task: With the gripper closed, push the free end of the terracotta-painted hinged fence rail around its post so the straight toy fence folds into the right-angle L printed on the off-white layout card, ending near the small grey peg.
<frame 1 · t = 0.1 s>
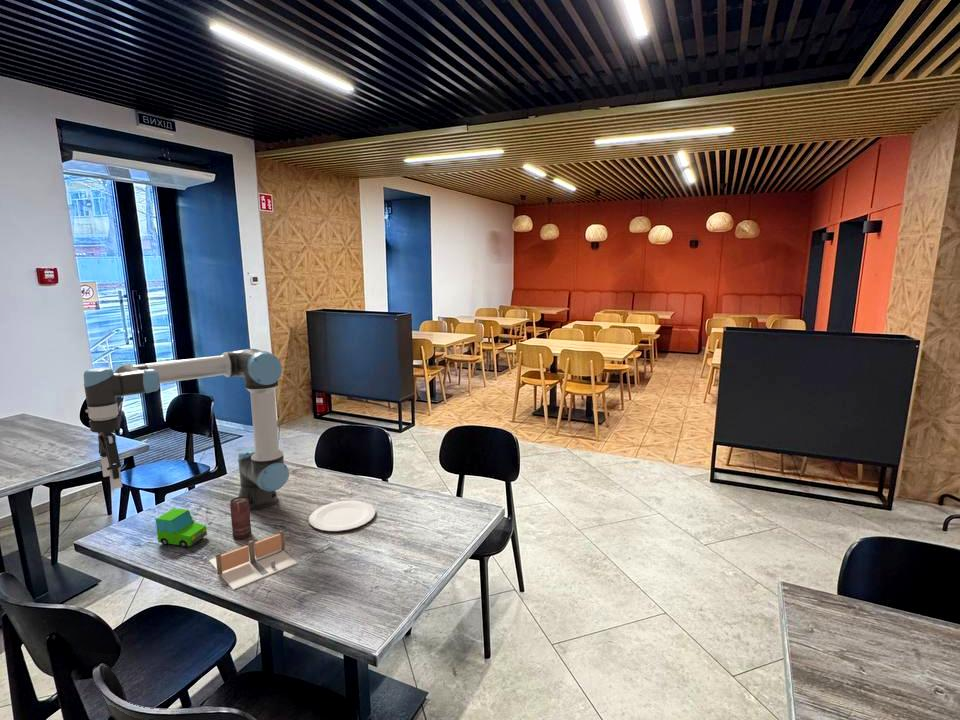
hand: (112, 481, 164), 28 cm above the table, fingers open, 13 cm apart
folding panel: (232, 558, 163), point 4 cm above the table, hinge at 0.0°
toy car: (184, 542, 181), on the table
fixed panel: (252, 561, 168), resting on layout card
can: (242, 536, 185), on the table
plate: (342, 518, 199), on the table
layout card: (252, 562, 168), on the table
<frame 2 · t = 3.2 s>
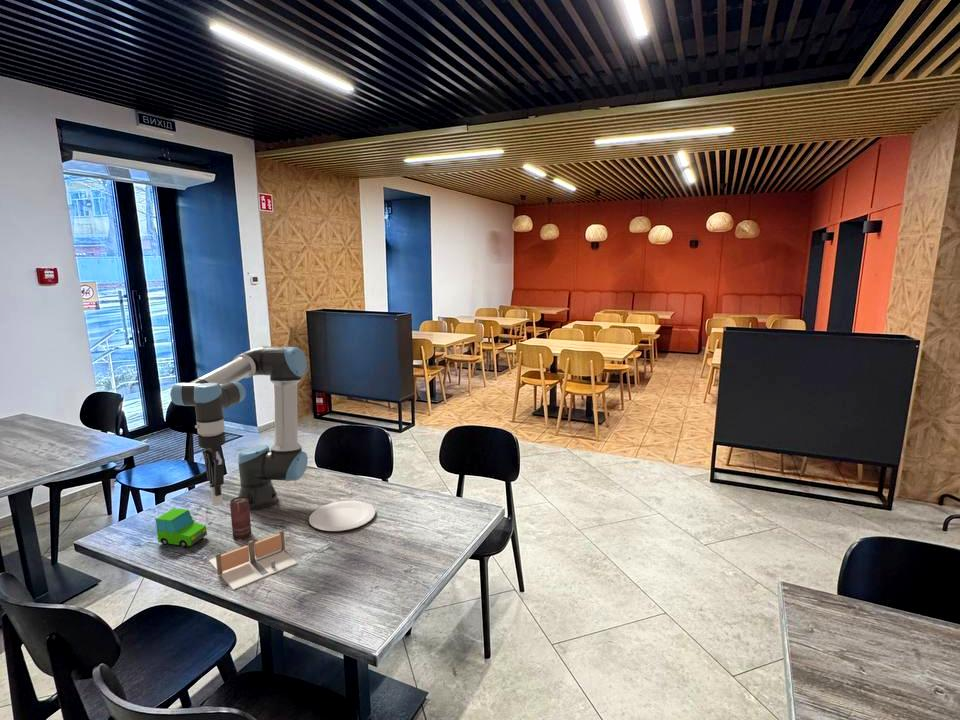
hand: (217, 504, 163), 21 cm above the table, fingers closed
nothing on the table moved.
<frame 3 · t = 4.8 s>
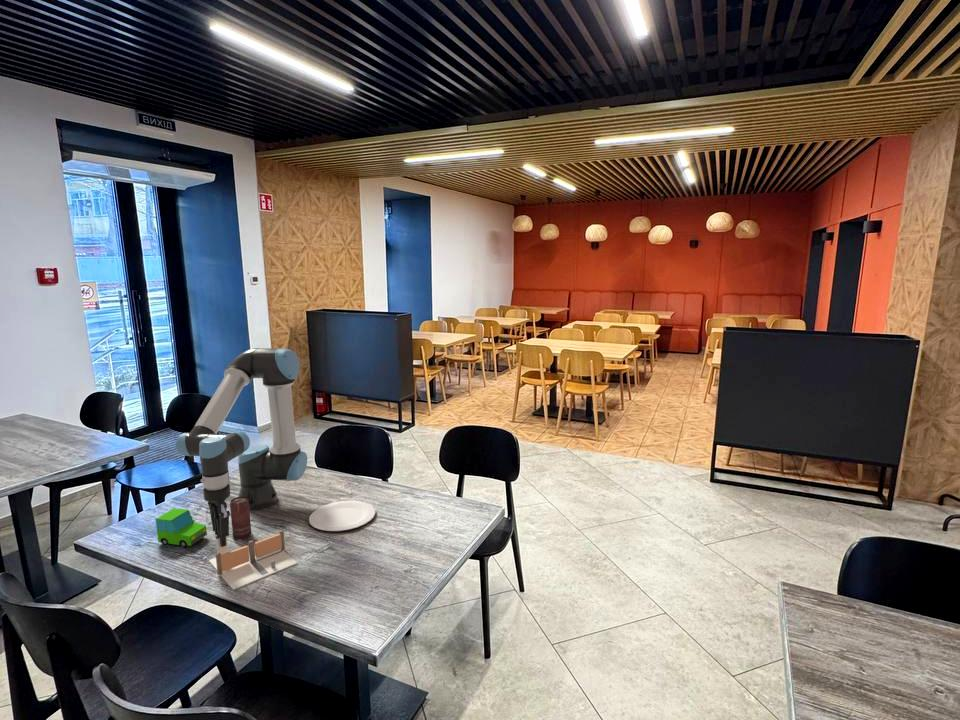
hand: (222, 554, 167), 3 cm above the table, fingers closed
nothing on the table moved.
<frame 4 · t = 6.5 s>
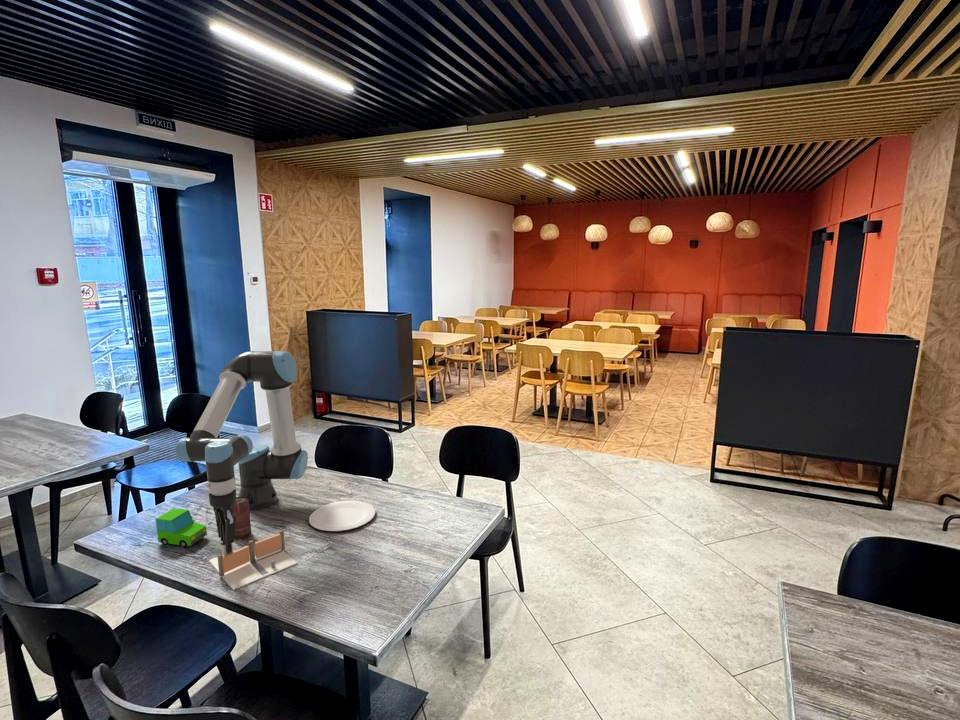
hand: (228, 560, 163), 4 cm above the table, fingers closed
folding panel: (233, 559, 163), point 4 cm above the table, hinge at 7.7°, touching gripper
everything else where it was.
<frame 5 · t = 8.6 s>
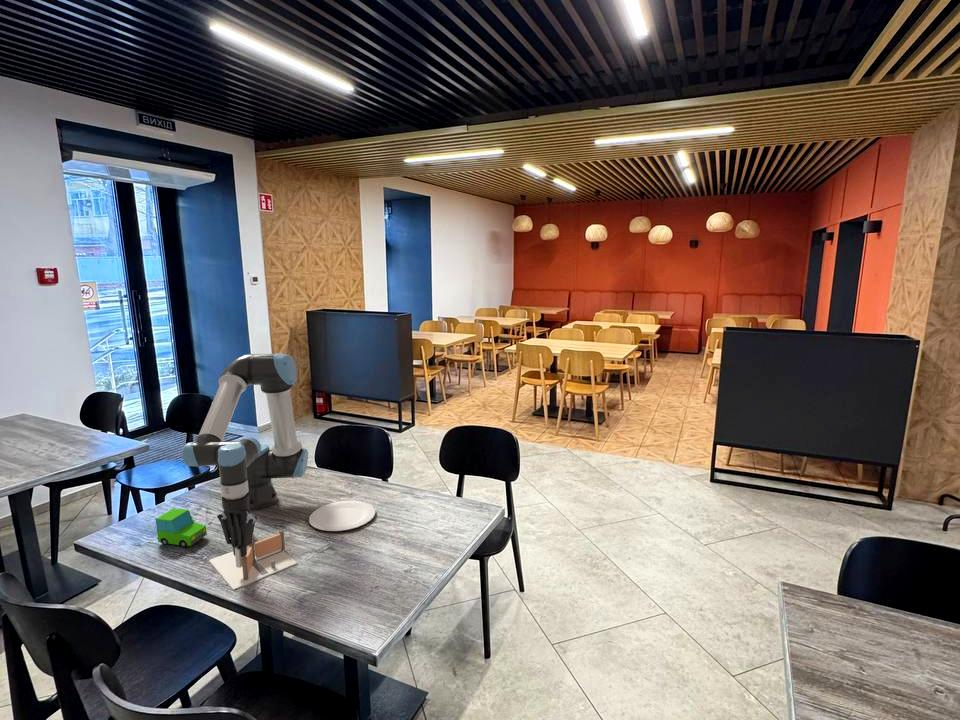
hand: (241, 565, 160), 3 cm above the table, fingers closed
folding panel: (247, 561, 161), point 4 cm above the table, hinge at 57.8°, touching gripper
everything else where it was.
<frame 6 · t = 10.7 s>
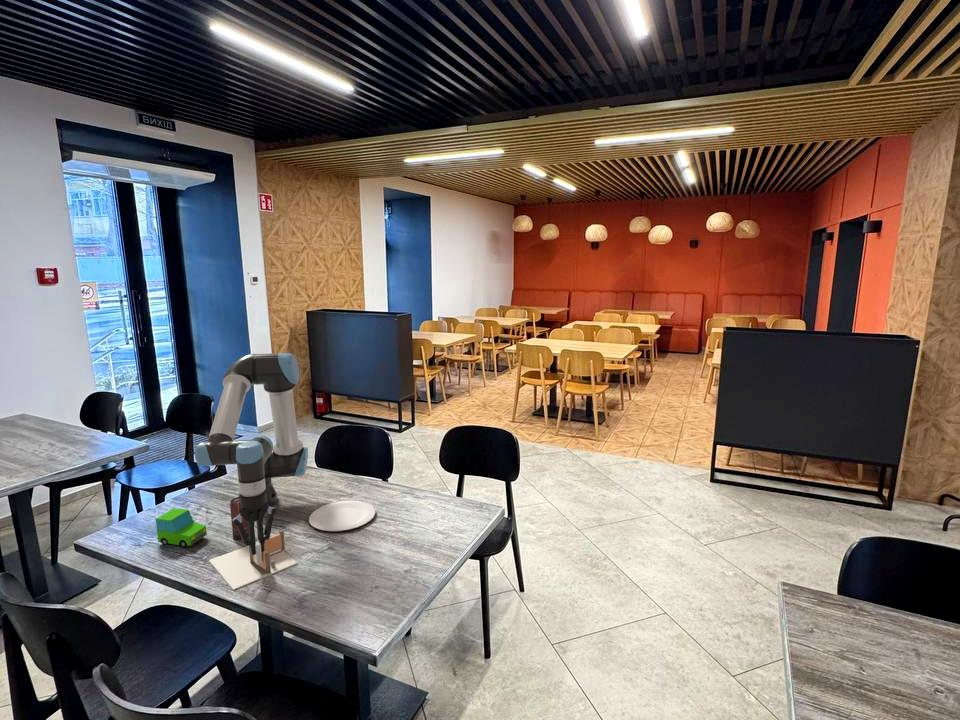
hand: (258, 562, 162), 4 cm above the table, fingers closed
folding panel: (261, 558, 163), point 4 cm above the table, hinge at 95.7°, touching gripper
everything else where it was.
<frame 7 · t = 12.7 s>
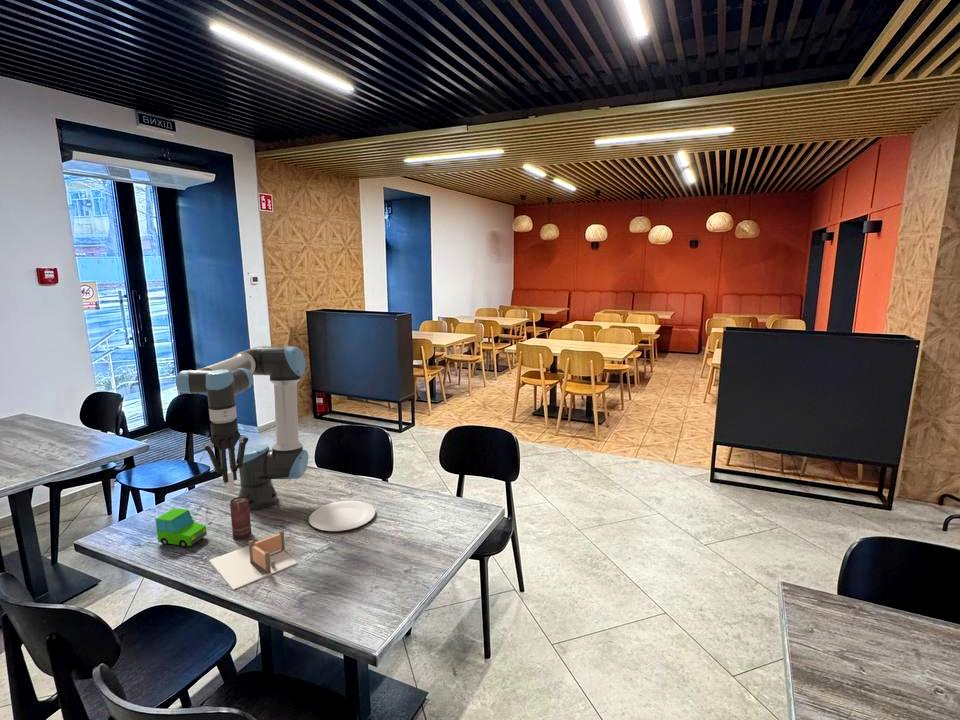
hand: (231, 490, 163), 25 cm above the table, fingers closed
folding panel: (261, 558, 163), point 4 cm above the table, hinge at 95.7°
everything else where it was.
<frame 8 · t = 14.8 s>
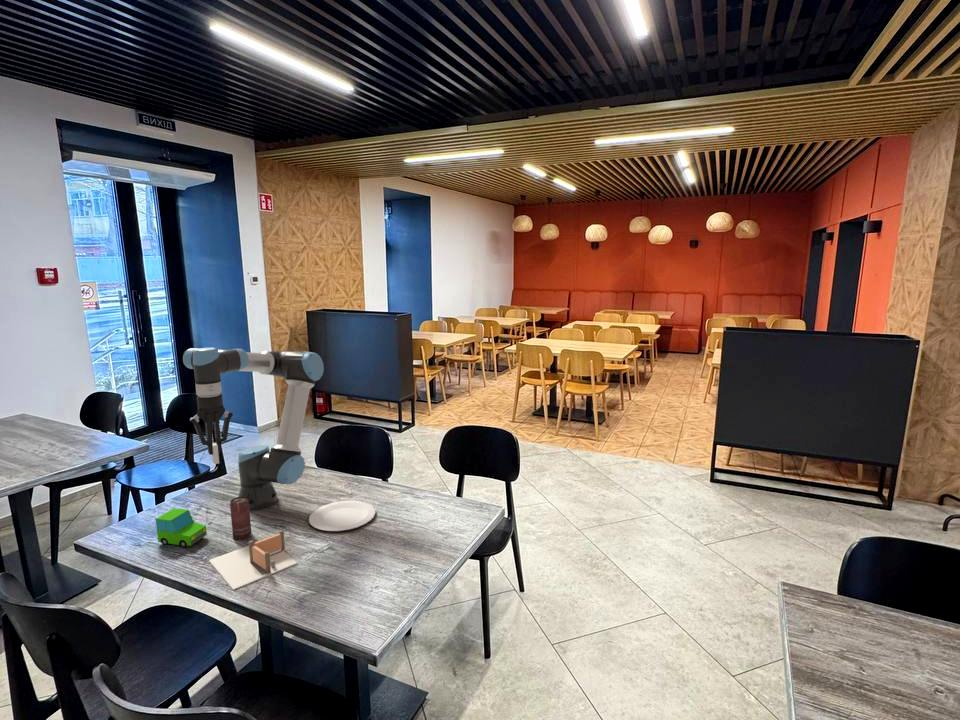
hand: (215, 462, 173), 30 cm above the table, fingers closed
nothing on the table moved.
at the end: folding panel at +96° (first picture: +0°); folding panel touching nothing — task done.
